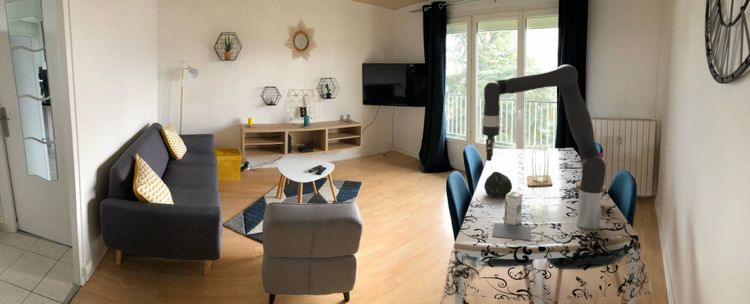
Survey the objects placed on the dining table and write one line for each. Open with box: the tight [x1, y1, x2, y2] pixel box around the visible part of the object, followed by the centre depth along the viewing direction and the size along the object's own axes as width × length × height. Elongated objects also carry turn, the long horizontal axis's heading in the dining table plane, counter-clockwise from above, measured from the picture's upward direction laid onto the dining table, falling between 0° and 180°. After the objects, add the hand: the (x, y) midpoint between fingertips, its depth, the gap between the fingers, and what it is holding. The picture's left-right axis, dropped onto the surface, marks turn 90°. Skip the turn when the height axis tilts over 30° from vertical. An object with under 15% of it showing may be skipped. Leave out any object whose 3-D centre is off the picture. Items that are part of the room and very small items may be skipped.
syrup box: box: [503, 190, 523, 226], centre depth 219 cm, size 6×6×14 cm
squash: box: [483, 171, 513, 199], centre depth 257 cm, size 14×15×15 cm
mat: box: [491, 223, 531, 242], centre depth 210 cm, size 16×15×1 cm
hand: (489, 158), depth 222 cm, fingers open, 8 cm apart
